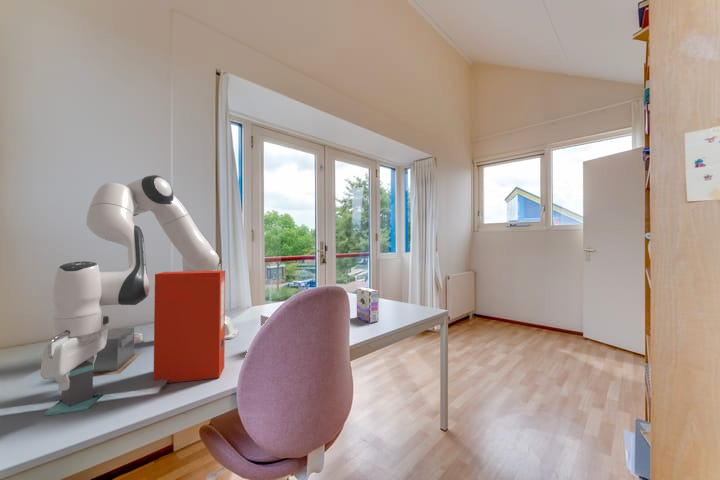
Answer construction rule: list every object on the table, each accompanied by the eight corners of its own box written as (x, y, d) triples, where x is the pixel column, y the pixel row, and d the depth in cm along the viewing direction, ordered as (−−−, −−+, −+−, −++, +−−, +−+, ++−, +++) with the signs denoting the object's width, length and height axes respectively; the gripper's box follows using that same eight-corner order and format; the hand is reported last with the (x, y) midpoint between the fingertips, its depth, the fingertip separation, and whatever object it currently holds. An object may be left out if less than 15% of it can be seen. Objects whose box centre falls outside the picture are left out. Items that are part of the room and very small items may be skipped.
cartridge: (85, 393, 76) (85, 359, 76) (92, 398, 74) (93, 363, 74) (61, 402, 72) (61, 366, 72) (68, 407, 70) (68, 370, 70)
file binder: (164, 373, 90) (165, 271, 90) (224, 367, 94) (225, 270, 94) (153, 385, 82) (154, 274, 82) (218, 378, 86) (219, 272, 86)
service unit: (134, 356, 99) (135, 327, 99) (118, 370, 88) (118, 338, 88) (111, 358, 97) (111, 329, 97) (91, 373, 86) (92, 340, 86)
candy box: (379, 321, 148) (379, 290, 148) (369, 323, 145) (369, 291, 145) (365, 316, 160) (365, 286, 160) (356, 317, 157) (356, 287, 157)
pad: (104, 393, 78) (104, 390, 78) (87, 409, 70) (87, 406, 70) (67, 398, 75) (67, 395, 75) (45, 415, 67) (45, 412, 67)
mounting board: (141, 357, 101) (141, 353, 101) (120, 378, 86) (120, 373, 86) (106, 361, 98) (106, 357, 98) (78, 383, 83) (78, 378, 83)
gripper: (67, 337, 64) (66, 399, 64) (112, 315, 83) (112, 362, 83) (30, 340, 62) (29, 404, 62) (85, 317, 81) (85, 365, 81)
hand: (77, 380), depth 73 cm, fingers open, 8 cm apart
